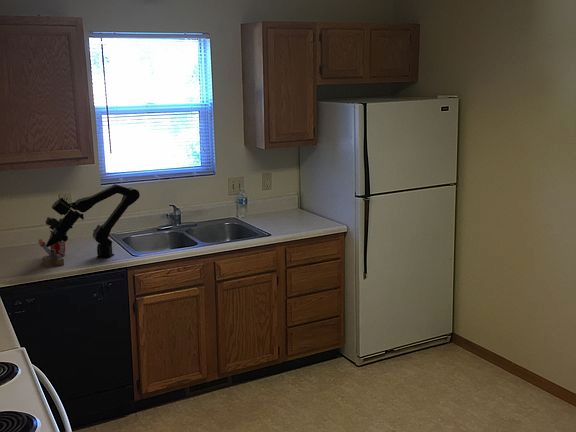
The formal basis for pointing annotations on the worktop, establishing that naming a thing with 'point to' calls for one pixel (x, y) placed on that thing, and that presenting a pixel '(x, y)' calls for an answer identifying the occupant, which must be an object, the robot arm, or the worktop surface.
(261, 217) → the worktop surface
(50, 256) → the copper roller
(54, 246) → the soda can
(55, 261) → the switch block
